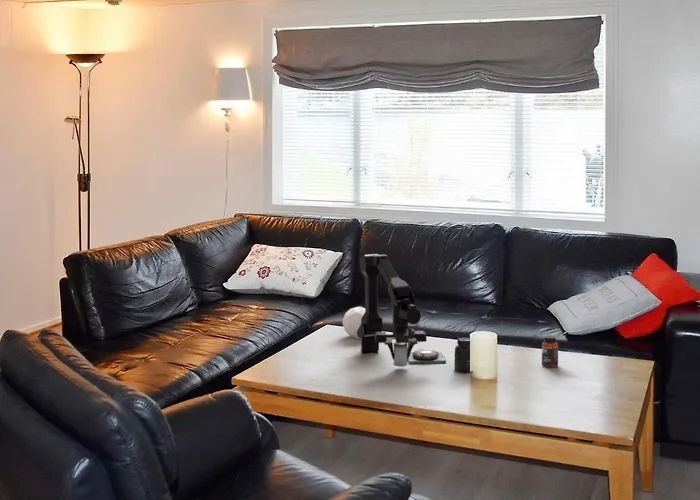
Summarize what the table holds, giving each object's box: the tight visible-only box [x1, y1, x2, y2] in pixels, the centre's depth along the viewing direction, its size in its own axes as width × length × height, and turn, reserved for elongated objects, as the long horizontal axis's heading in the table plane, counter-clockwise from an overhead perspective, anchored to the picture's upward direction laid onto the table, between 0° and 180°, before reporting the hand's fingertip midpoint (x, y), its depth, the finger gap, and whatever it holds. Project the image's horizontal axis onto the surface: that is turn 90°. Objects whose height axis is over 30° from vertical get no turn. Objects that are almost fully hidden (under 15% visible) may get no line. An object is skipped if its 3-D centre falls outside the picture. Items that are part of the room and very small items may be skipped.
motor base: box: [407, 347, 447, 365], centre depth 318 cm, size 14×12×3 cm
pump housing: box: [393, 342, 408, 367], centre depth 305 cm, size 5×5×8 cm
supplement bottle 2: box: [541, 334, 559, 369], centre depth 306 cm, size 6×6×11 cm
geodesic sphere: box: [342, 305, 365, 340], centre depth 350 cm, size 14×14×14 cm
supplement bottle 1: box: [453, 337, 471, 374], centre depth 302 cm, size 7×7×12 cm
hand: (400, 359), depth 305 cm, fingers closed on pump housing, 5 cm apart
